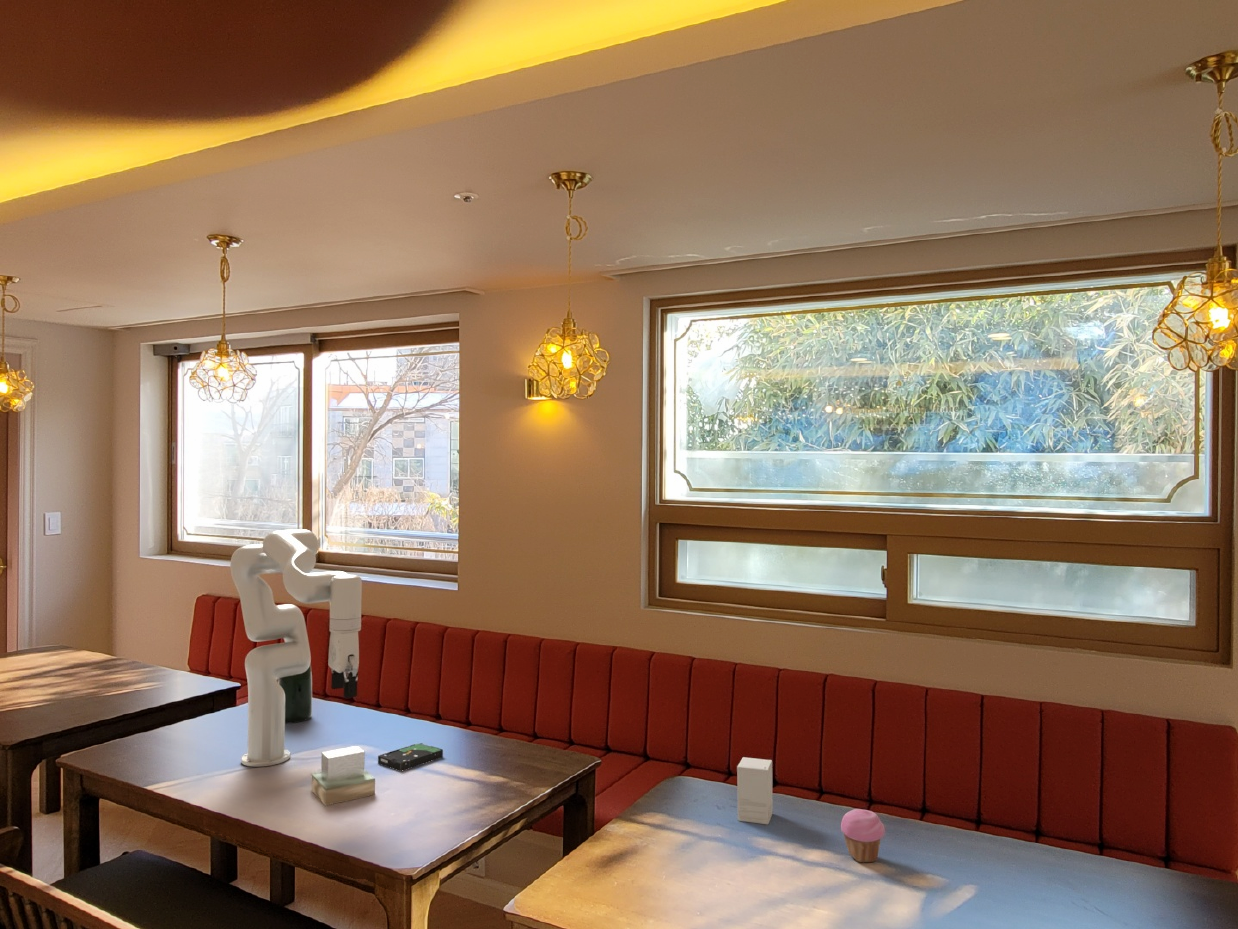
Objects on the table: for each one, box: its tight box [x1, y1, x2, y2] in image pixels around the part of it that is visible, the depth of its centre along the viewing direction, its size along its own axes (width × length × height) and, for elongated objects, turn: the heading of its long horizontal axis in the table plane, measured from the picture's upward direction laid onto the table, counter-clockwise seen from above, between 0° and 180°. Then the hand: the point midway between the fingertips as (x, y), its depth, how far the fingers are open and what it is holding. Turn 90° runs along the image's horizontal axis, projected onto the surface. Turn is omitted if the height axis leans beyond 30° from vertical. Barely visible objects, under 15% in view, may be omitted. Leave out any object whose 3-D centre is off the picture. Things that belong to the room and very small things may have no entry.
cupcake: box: [840, 808, 886, 863], centre depth 172 cm, size 9×9×10 cm
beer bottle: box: [277, 663, 313, 724], centre depth 268 cm, size 10×10×33 cm
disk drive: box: [377, 742, 444, 772], centre depth 230 cm, size 10×3×15 cm
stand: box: [311, 768, 376, 806], centre depth 206 cm, size 12×12×4 cm
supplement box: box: [736, 756, 774, 825], centre depth 193 cm, size 7×7×13 cm
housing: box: [320, 745, 366, 783], centre depth 206 cm, size 9×6×6 cm, turn 126°
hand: (343, 692), depth 206 cm, fingers open, 9 cm apart
